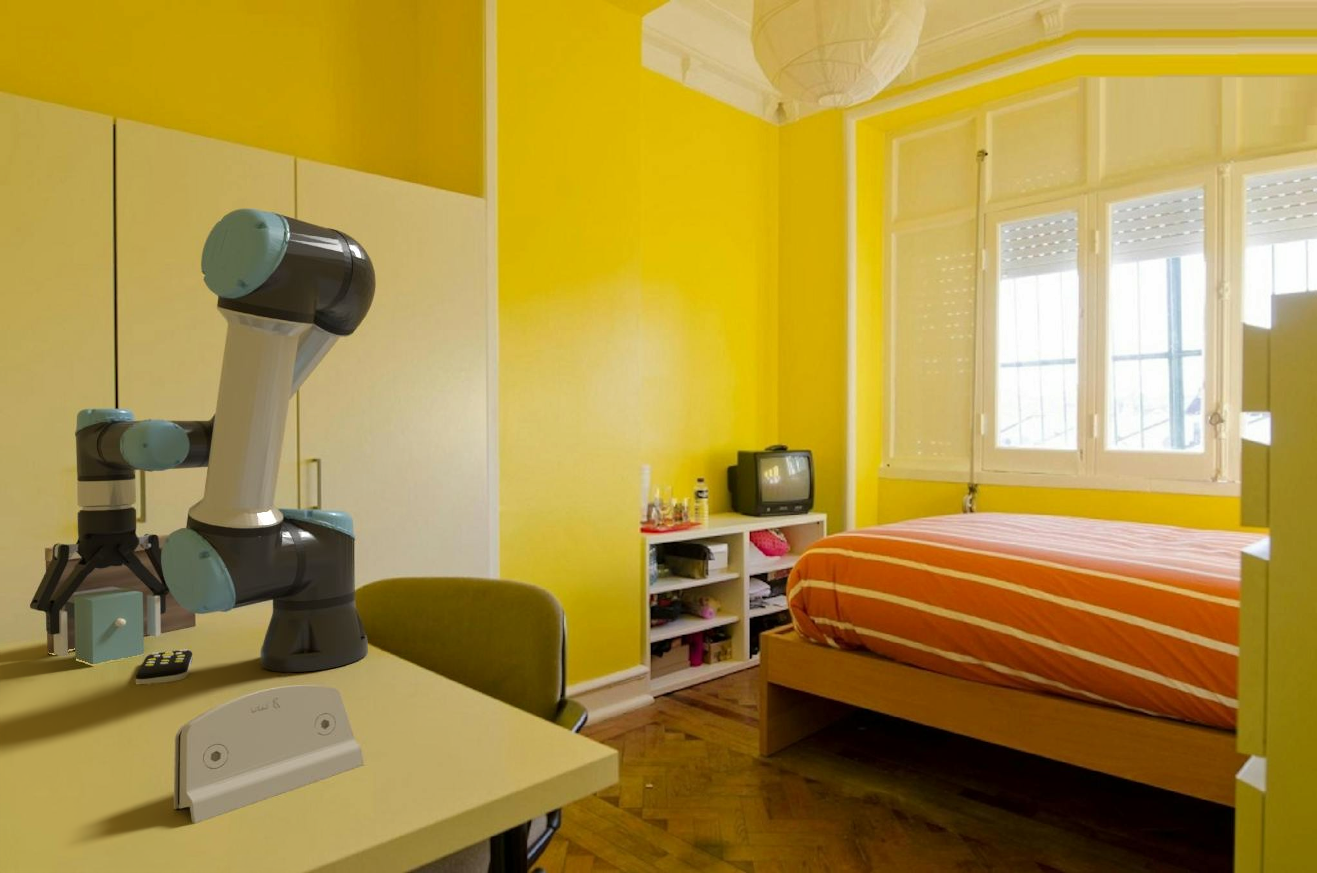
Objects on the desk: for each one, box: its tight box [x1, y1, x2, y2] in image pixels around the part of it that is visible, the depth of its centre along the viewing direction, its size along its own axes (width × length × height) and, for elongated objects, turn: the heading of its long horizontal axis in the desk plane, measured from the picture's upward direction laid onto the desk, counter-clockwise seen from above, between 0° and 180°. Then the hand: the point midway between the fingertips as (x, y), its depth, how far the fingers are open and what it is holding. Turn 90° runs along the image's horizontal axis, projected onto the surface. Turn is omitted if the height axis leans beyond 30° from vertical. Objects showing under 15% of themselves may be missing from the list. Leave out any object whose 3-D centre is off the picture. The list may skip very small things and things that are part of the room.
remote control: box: [134, 648, 193, 685], centre depth 116 cm, size 6×13×2 cm, turn 26°
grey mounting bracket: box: [173, 684, 365, 824], centre depth 78 cm, size 17×5×10 cm, turn 139°
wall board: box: [44, 533, 196, 653], centre depth 135 cm, size 2×22×17 cm, turn 148°
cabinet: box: [63, 587, 145, 664], centre depth 124 cm, size 11×7×10 cm, turn 58°
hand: (109, 644), depth 123 cm, fingers open, 12 cm apart
